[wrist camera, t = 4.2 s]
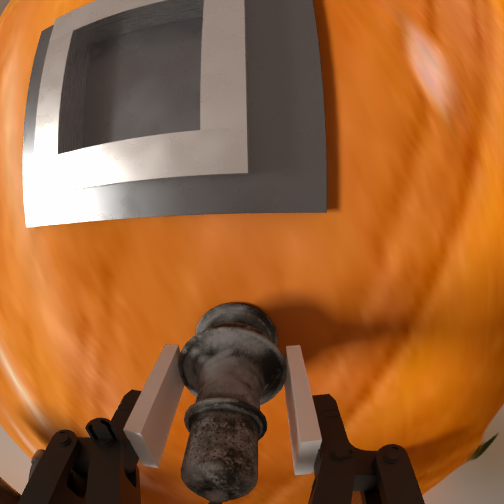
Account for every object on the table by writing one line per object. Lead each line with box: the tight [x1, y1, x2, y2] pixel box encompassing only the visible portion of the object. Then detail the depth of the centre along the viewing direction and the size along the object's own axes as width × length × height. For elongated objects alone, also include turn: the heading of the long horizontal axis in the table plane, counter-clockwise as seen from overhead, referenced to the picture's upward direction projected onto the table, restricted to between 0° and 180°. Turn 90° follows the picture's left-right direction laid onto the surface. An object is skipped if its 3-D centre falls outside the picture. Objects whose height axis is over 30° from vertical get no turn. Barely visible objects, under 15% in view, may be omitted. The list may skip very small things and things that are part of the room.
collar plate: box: [23, 0, 327, 227], centre depth 12 cm, size 20×16×4 cm
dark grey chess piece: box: [178, 303, 286, 504], centre depth 12 cm, size 6×6×12 cm
